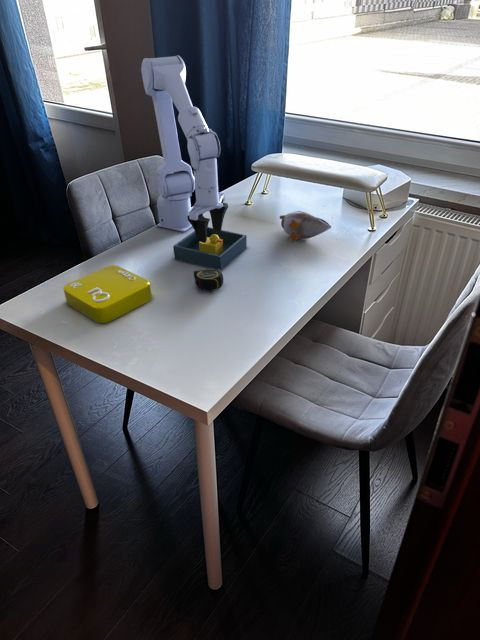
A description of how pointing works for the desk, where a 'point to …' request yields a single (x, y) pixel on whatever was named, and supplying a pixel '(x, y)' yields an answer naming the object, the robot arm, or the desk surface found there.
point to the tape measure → (208, 279)
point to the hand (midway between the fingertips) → (210, 235)
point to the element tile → (107, 293)
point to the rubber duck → (212, 245)
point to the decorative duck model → (303, 225)
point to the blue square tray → (192, 254)
